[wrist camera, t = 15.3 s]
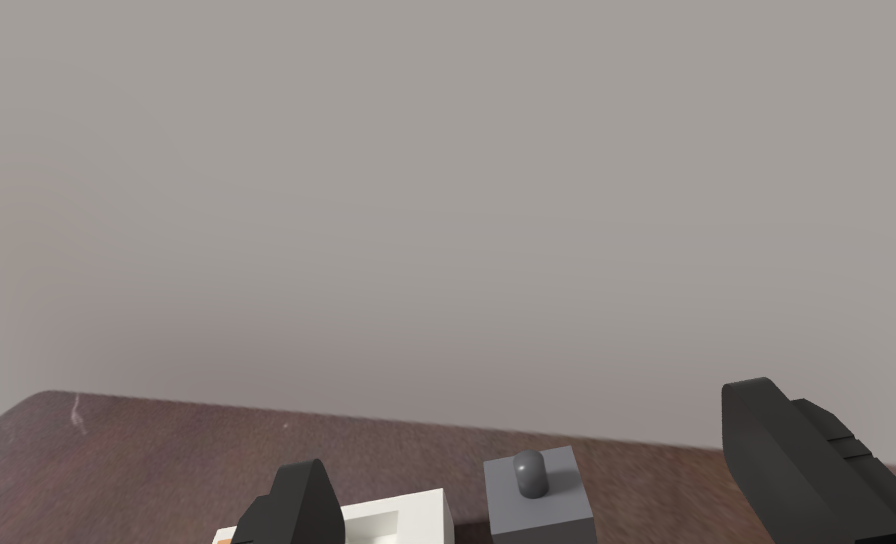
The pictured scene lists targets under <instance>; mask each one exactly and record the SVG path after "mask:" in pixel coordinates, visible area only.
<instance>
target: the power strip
mask: <svg viewBox="0 0 896 544" xmlns="http://www.w3.org/2000/svg"><path fill="white" fill-rule="evenodd" d="M340 508H341V510H342V513H343V517H344V522H345V533H346V540H345V544H455V542H454V524H453V520H452V517H451V514H450V510H449V507H448V504H447V501H446V497H445V494H444V491H443V488H441V489H436V490H430V491H425V492H419V493H414V494H409V495H403V496H398V497H392V498H387V499H381V500H376V501H371V502H365V503H360V504H354V505H349V506H343V507H340ZM236 527H237V526H235V527H230V528H224V529H219V530H218V531H217V533H216V536H215V538H214V540H213V543H212V544H230V543H231V540H232V537H233V535H234V532H235V530H236Z"/></svg>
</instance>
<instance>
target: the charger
mask: <svg viewBox="0 0 896 544" xmlns="http://www.w3.org/2000/svg"><path fill="white" fill-rule="evenodd" d="M484 471H485V481H486V490H487V499H488V509H489V518H490V527H491V535H492V539H493V543H494V544H598V543H597V537H596V531H595V525H594V518H593V514H592V511H591V508H590V505H589V502H588V499H587V495H586V492H585V489H584V486H583V483H582V480H581V476H580V473H579V470H578V467H577V464H576V461H575V458H574V454H573V451H572V448H571V446H566V447H560V448H555V449H550V450H544V451H539V452H538V451H535V450H524V451H522V452H520V453H518V454H517V455H516V456H512V457H507V458H502V459H496V460H491V461H486V462H484Z"/></svg>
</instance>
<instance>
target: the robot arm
mask: <svg viewBox="0 0 896 544" xmlns="http://www.w3.org/2000/svg"><path fill="white" fill-rule="evenodd" d="M722 436H723V437H722V439H723V451H724V456H725V460H726V463H727V466H728V468H729V470H730V473H731V475H732V477H733V478H734V480H735V482H736V483H737V485H738V486H739V488H740V489H741V491H742V493H743V494H744V496H745V497H746V499H747V500H748V502H749V503H750V505H751V506H752V508H753V510H754V511H755V513H756V514H757V516H758V517H759V519H760V520H761V522H762V523H763V525H764V527H765V528H766V530H767V531H768V533H769V534H770V536H771V537H772V539H773V541H774V542H775V544H896V476H895V475H894V474H893V473H892V472H891V471H890V470H889V469H888V468H887V467H886V466H885V465H884V464H883V463H882V462H881V461H880V460H879V459H878V458H874V457H873V455H872V453H871V451H870V450H869V449H868V448H867V447H865V445H864V444H863V443H861V441H860V440H856V439H855V437H854V434H852V433H851V431H850V430H848V428H846V426H845V425H844V424H843V423H841V422H840V421H839V419H838V418H837V417H836V416H834V414H832V413H830V412H828V411H826V410H824V409H823V408H821V407H819V406H817V405H815V404H813V403H811V402H810V401H808V400H806V399H804V398H803V399H798V400H793V401H790V400H789V399H788V398H787V397H786V396H785V395H784V394H783V393H782V392H781V391H780V389H779V388H778V387H776V385H775V384H774V383H773V382H772V381H771V380H770V379H768V378H766V377H761V378H755V379H751V380H745V381H739V382H734V383H729V384H725V385H724V386H723V388H722ZM345 540H346V533H345V522H344V517H343V513H342V510H341V508H340V505H339V503H338V500H337V498H336V495H335V493H334V490H333V488H332V485H331V483H330V480H329V478H328V475H327V473H326V470H325V468H324V465H323V463H322V462H321V461H320V460H319V459H313V460H307V461H302V462H297V463H291V464H286V465H282V466H281V467H280V468H279V469H278V471H277V474H276V477H275V480H274V483H273V485H272V488H271V491H270V494H269V495H264V496H259V497H257V498H256V499H255V501H254V502H253V503H252V504H251V506H250V507H249V508H248V509H247V511H246V512H245V513H244V514H243V516H242V517H241V518H240V519H239V522H238V524H237V527H236V530H235V532H234V535H233V537H232V540H231V543H230V544H345Z"/></svg>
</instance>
